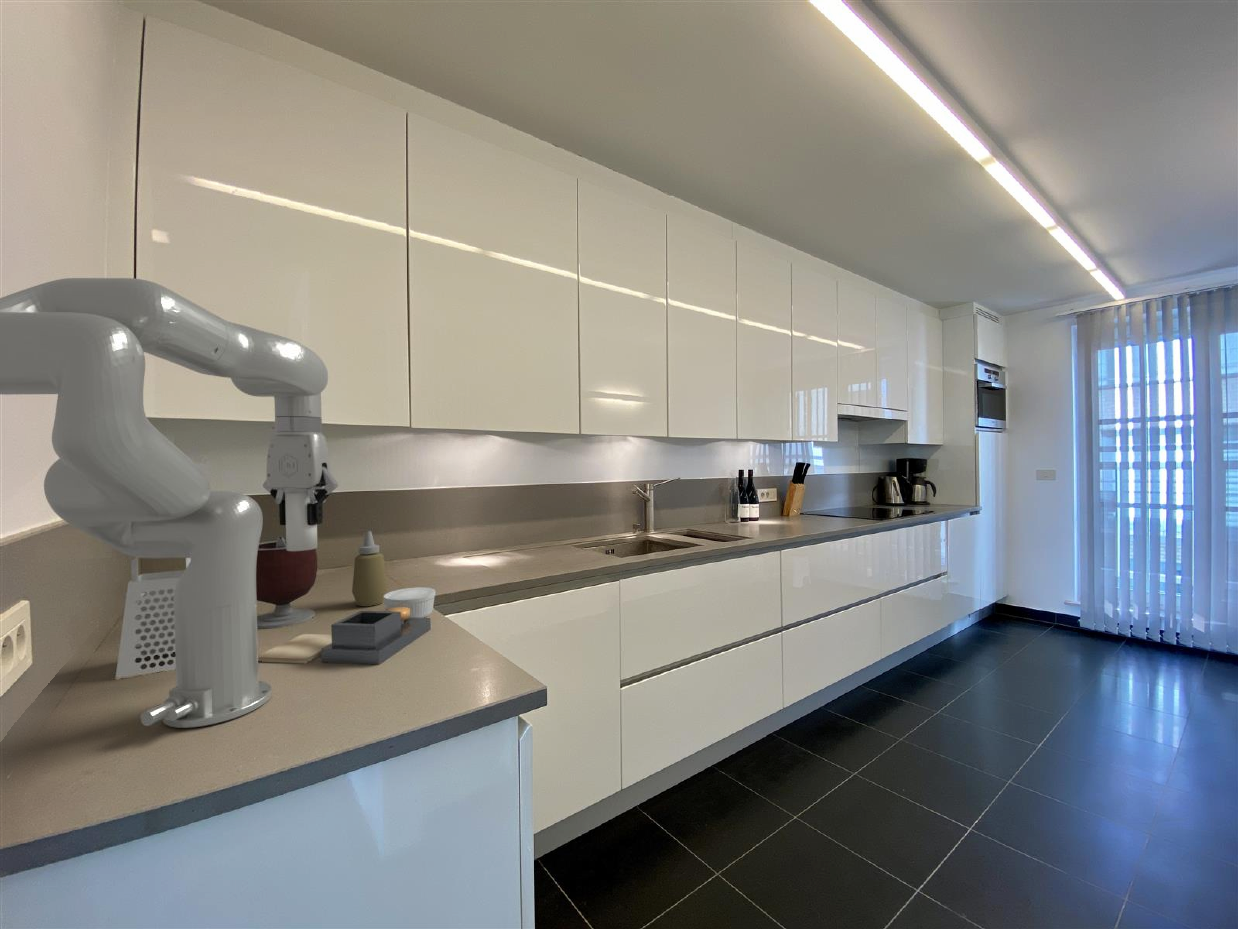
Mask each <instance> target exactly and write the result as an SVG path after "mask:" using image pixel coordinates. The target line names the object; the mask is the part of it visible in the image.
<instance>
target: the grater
mask: <svg viewBox="0 0 1238 929" xmlns="http://www.w3.org/2000/svg"><path fill="white" fill-rule="evenodd" d="M190 561H191V558H185V569H186V568H187V566H188V565H189V563H190ZM130 565H131V566H130V569H131V573H130V574H131V580H129V581H128V582H127V589H126V595H125V597H126V598H125V602H124V611H123V619H122V628H121V634H120V642H119V648H118V658H117V665H116V672H115V678H116V677H121V676H128V675H134V674H147V673H152V672H159V671H167V672H169V671H168V670H173V671H176V670H175V669H176V656H174V657H173V656H171V655H172V654H174V653H173V652H175V622H174V590H175V587H176V584H177V582H178V580H179V578H180V577H181V575H182V574H183V572H184V571H185V569H179V570H172V571H169V570H168V571H161V572H160V571H159V572H150V573H141V574H139V557H134V558H133V559H132V560H131V561H130ZM163 654H164V655H168V656H167V657H166V658H163ZM155 655H158V656H159V658H158V659H155V658H154V657H156V656H155ZM146 656H150V657H149V658H150V659H149V660H148V661H146V660H145V658H147V657H146ZM136 658H138V659H141V661H140V662H136V660H137V659H136ZM171 660H172V661H173V663H171V664H168V662H169V661H171ZM160 662H164V664H163V665H162V666H161V665H159V664H160ZM152 663H153V664H155V666H154V667H151V666H150V665H151V664H152ZM142 665H146V667H145V668H143V669H142Z"/></svg>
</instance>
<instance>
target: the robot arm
mask: <svg viewBox="0 0 1238 929" xmlns="http://www.w3.org/2000/svg"><path fill="white" fill-rule="evenodd" d="M145 353H146V354H149V355H151V356H153V357H157V358H160V359H162V360H166V361H168V362H170V363H174V364H176V365H178V366H180V367H184V368H186V369H188V370H190V371H193V372H196V373H199V374H201V375H205V376H206V375H208V376H214V377H220V378H227V379H231V380H230V381H231V382H232V384H233V386H234V387H236V388H237V390H239V391H240V392H242V393H244V394H245V395H248V396H252V397H257V398H258V397H260V398H261V397H263V398H266V397H272V398H274V400H273V401H274V422H271V427H270V428H272V430H274V431H275V433H274V435H273V434H272V435H270V436H271V437H270V439H269V444H268V449H267V455H266V456H267V457H266V474H265V475H266V476H265V477H266V479H265V481H264V482H263V484H262V487H263V488H264V489H265V490H266V491H267V492H268V493H269V494H270V496H271V497H272V498H273V499H274V501H275V504H277V505H278V507H279V508H278V513H279V515H278V516H279V517H278V518H279V525H280V526H286V510H285V493H284V488H288V487H292V488H306V489H307V493H308V496H309V500H310V503H311V504H308V505H307V523H308V525H316V524H317V525H322V524H323V518H324V514H323V513H324V512H323V511H324V510H323V509H324V508H323V503H326V501H327V498H328V497H329V496H330V495H331V493H333V491H335V490H336V489H337V488H338V487H339V483H338V481H337V480H336V479H335V478H334V477H333V475H332V474H331V462H330V454H329V447H328V443H327V439H326V436H325V435H324V434H323V418H322V415H323V414H322V392H323V391H324V390H325V389H326V387H327V385H328V382H329V374H328V368H327V366H326V364H325V363H324V361H323V360H322V358H321V357H320V356H319V355H318V354H317V353H316V352H314V351H313V350H311V349H310V348H309V347H307V346H305V345H303V344H302V343H300V342H299V341H296V340H293V339H291V338H288V337H286V336H282V335H279V334H275V333H272V332H268V331H264V330H260V329H256V328H253V327H251V326H247V325H243V324H241V323H240V324H239V323H236V322H231V321H228V320H226V319H224V318H222V317H220V316H218V315H216V314H215V313H213V312H212V311H209V310H207V309H206V308H203V307H202V306H200V305H198V304H196V303H195V302H192V301H191V300H189V299H187V298H186V297H184V296H182V295H180V294H179V293H176V292H175V291H173V290H171V289H169V288H168V287H165V286H163V285H161V284H159V283H156V282H154V281H150V280H147V279H141V278H134V277H133V278H131V277H67V278H59V279H55V280H50V281H47V282H44V283H40V284H37V285H34V286H31V287H28V288H25V289H22V290H20V291H16V292H14V293H11V294H7V295H6V296H2V297H0V395H4V396H5V395H11V396H12V395H57V399H56V404H55V406H56V407H55V414H54V415H55V416H54V421H53V427H52V431H51V444H52V448H53V450H54V452H55V454H56V456H57V457H58V459H57V460H55V461H54V462H53V463H52V465H50V467H49V468H48V470H47V471H46V474H45V478H44V481H43V490H44V495H45V500H47V503H48V504H49V506H50V508H51V509H52V510H53V512H54V513H55V514H56V516H58V517H59V518H60V519H61V520H63V521H64V522H66V523H68V524H69V525H71V526H72V527H74V528H76V529H77V530H80V531H81V532H83V533H85V534H87V535H88V536H91V537H93V538H94V539H96V540H98V541H100V542H101V543H103V544H106V545H107V546H109V547H110V548H113V549H114V550H115V551H116V550H117V551H118V552H120V553H122V554H126V555H128V556H131V557H134V558H135V557H138V559H139V558H141V559H174V558H175V559H179V558H182V559H183V558H184V559H186V558H191V561H190V563H189V565H188V566H187V568H186V567H185V569H184V570H185V571H184V572H183V574H182V575H181V577H180V578H179V580H178V582H177V584H176V587H175V590H174V622H175V657H176V670H175V683H176V687H173V688H170V689H169V690H168V698H166V699H165V700H164V701H163V703H162V704H158V705H155V706H154V707H151V708H149V709H147V710H145V711H143V712H142V713H141V714H140V722H141V724H142V725H143V726H146V727H149V726H152V725H153V724H156V723H158V722H160V721H162V722H163V724H164V725H166V726H168V727H170V728H176V729H177V728H178V729H188V728H200V727H205V726H209V725H210V726H211V725H216V724H219V723H223V722H227V721H230V720H232V719H236V718H239V717H242V716H244V715H246V714H249V713H251V712H253V711H255V710H256V709H258V708H260V707H262V706H263V705H264V704H266V703H267V702H268V700H269V699H270V698H271V697H272V686H271V685H270V684H269V683H267V682H265V681H261V680H259V679H260V676H259V672H260V671H259V662H258V655H259V638H258V635H259V634H258V628H257V616H258V601H257V596H256V564H257V553H258V547H259V543H260V540H261V536H262V530H263V524H264V521H263V520H264V518H263V511H262V509H261V507H260V505H259V503H258V502H257V501H256V500H255V499H253V498H252V497H251V496H249V495H246V494H244V493H240V492H236V491H229V490H228V491H227V490H211V485H210V481H209V479H208V476H207V475H206V473H205V472H204V471H203V469H202V468H201V467H200V466H199V465H198V464H197V463H195V461H194V460H193V459H191V458H190V457H189V456H188V455H187V454H185V453H184V452H183V451H182V450H181V449H180V448H179V447H178V446H176V445H175V444H174V443H173V442H172V441H170V440H169V438H167V437H166V436H165V435H164V434H163V433H162V432H160V431H159V430H158V429H157V428H156V427H155V426H154V425H153V424H152V423H151V422H150V420H149V419H148V417H147V416H146V412H145V405H144V386H145V384H144V383H145V374H146V358H145ZM315 485H316V486H315ZM315 490H316V492H315Z"/></svg>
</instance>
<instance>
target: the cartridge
mask: <svg viewBox="0 0 1238 929" xmlns="http://www.w3.org/2000/svg"><path fill="white" fill-rule="evenodd" d="M315 486H316V485H315ZM315 492H316V490H315ZM284 493H285V510H286V525H285V540H286V549H287V551H304V550H311V549H316V550H317V549H318V524H316V525H308V523H307V505H308V504H311V503H310V500H309V496H308V493H307V489H306V488H292V487H288V488H284Z"/></svg>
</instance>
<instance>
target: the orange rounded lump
mask: <svg viewBox="0 0 1238 929" xmlns="http://www.w3.org/2000/svg"><path fill="white" fill-rule="evenodd" d="M385 611H390V612H401V625H402V624H404V620H405V619H408V618H409V617H410V609H409V608H407V607H397V608H392V609H388V610H386V609H385Z"/></svg>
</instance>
